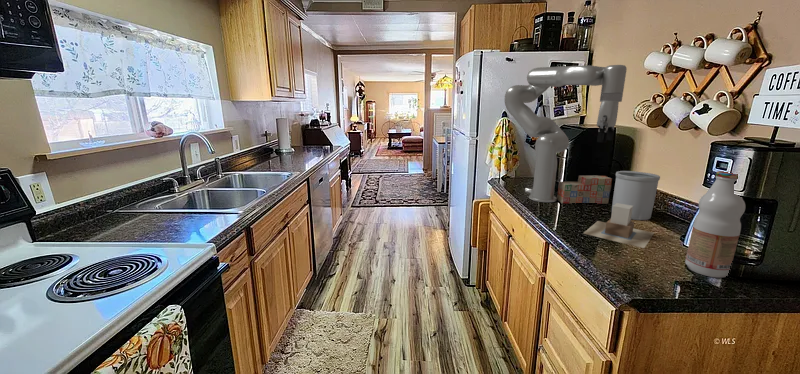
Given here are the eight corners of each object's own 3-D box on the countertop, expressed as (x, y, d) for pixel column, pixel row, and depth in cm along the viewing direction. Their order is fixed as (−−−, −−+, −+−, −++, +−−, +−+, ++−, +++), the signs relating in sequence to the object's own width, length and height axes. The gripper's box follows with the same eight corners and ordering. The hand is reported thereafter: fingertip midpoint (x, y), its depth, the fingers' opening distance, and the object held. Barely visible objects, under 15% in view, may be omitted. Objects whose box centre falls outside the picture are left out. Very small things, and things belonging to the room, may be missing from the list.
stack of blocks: (562, 203, 158) (565, 178, 155) (556, 200, 164) (559, 175, 161) (608, 203, 158) (612, 178, 155) (600, 200, 164) (604, 175, 161)
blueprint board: (582, 236, 120) (582, 233, 119) (597, 223, 132) (597, 220, 132) (643, 251, 108) (644, 248, 107) (653, 235, 120) (654, 232, 120)
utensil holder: (611, 207, 152) (617, 169, 148) (652, 213, 144) (659, 173, 140) (608, 216, 140) (614, 174, 136) (652, 223, 132) (660, 179, 128)
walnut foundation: (604, 233, 120) (606, 222, 119) (609, 227, 124) (611, 217, 123) (627, 238, 115) (629, 227, 114) (632, 232, 120) (634, 222, 119)
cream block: (610, 222, 119) (612, 205, 117) (614, 218, 122) (616, 202, 121) (626, 225, 115) (629, 209, 114) (630, 222, 119) (633, 205, 117)
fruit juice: (683, 271, 95) (705, 173, 88) (684, 259, 102) (704, 167, 95) (730, 282, 89) (757, 178, 82) (727, 269, 96) (752, 172, 89)
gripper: (606, 98, 143) (600, 139, 147) (594, 98, 131) (588, 142, 135) (627, 98, 138) (620, 140, 142) (616, 97, 126) (609, 143, 130)
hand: (604, 141), depth 139 cm, fingers open, 9 cm apart
